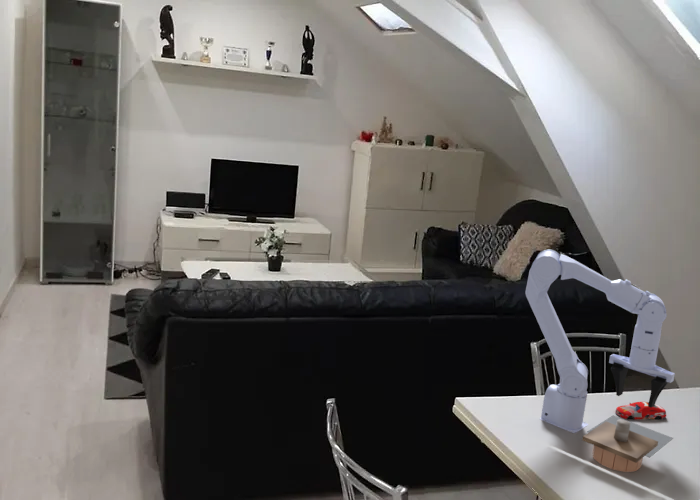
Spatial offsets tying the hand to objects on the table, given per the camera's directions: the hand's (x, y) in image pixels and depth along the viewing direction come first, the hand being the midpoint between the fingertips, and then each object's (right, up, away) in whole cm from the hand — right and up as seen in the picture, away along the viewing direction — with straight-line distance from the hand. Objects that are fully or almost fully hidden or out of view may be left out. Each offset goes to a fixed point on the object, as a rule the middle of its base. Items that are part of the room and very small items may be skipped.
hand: (635, 400), depth 160 cm
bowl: (-8, -12, -10) cm, 17 cm away
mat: (0, -10, +3) cm, 10 cm away
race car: (+7, -8, +15) cm, 18 cm away
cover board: (-8, -7, -11) cm, 15 cm away
